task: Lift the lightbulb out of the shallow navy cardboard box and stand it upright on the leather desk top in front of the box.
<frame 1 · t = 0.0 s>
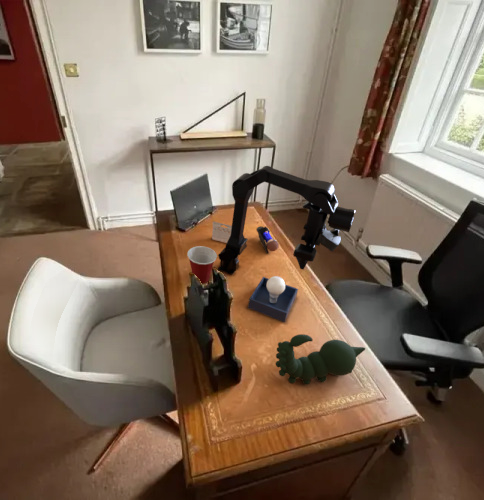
hand: (305, 261, 108), 15 cm above the table, tool pointing down, fingers open, 9 cm apart
lightbulb: (272, 302, 112), resting on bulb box
plastic cup: (201, 279, 121), on the table
ink cartridge box: (224, 241, 142), on the table
character figurine: (265, 246, 140), on the table
toy figurine: (314, 373, 90), on the table
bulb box: (272, 302, 112), on the table
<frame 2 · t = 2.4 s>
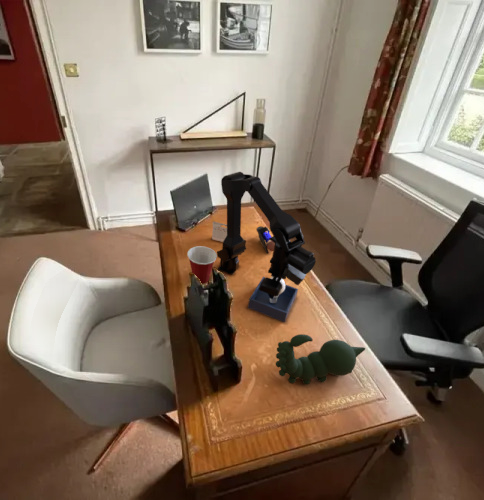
hand: (274, 292, 109), 5 cm above the table, tool pointing down, fingers closed on lightbulb, 6 cm apart
lightbulb: (272, 302, 112), resting on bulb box, touching gripper
everything else where it was.
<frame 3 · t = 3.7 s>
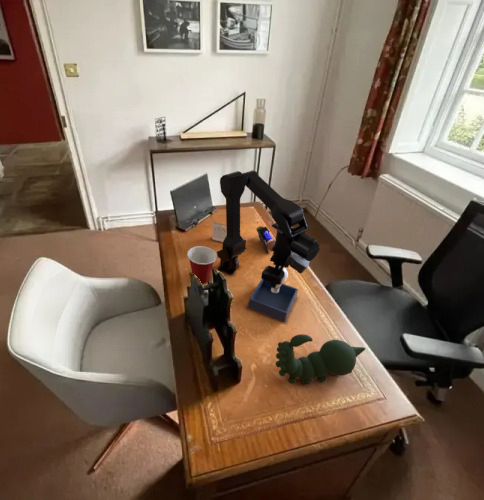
hand: (276, 281, 106), 10 cm above the table, tool pointing down, fingers closed on lightbulb, 6 cm apart
lightbulb: (274, 292, 109), point 5 cm above the table, touching gripper
everything else where it was.
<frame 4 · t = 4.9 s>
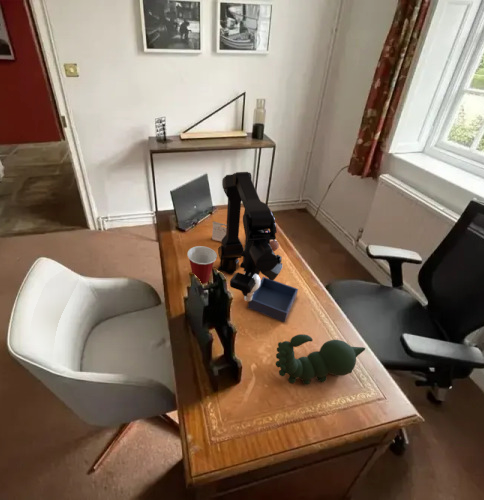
hand: (249, 289, 99), 13 cm above the table, tool pointing down, fingers closed on lightbulb, 6 cm apart
lightbulb: (247, 300, 102), point 8 cm above the table, touching gripper
everything else where it was.
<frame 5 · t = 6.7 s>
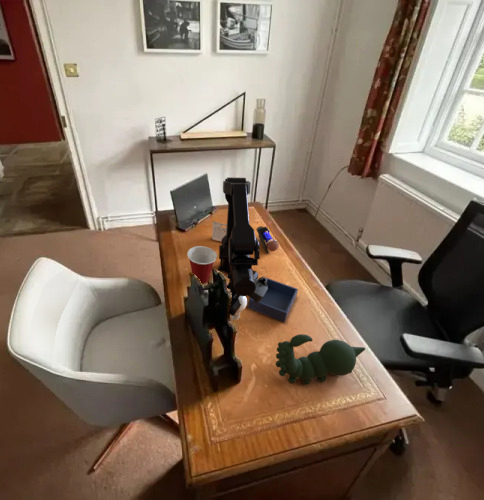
hand: (236, 308, 101), 6 cm above the table, tool pointing down, fingers closed on lightbulb, 6 cm apart
lightbulb: (235, 318, 104), point 1 cm above the table, touching gripper
everything else where it was.
when the fingers open (5 cm above the table, at t = 7.6 s): lightbulb stays where it is, on the table.
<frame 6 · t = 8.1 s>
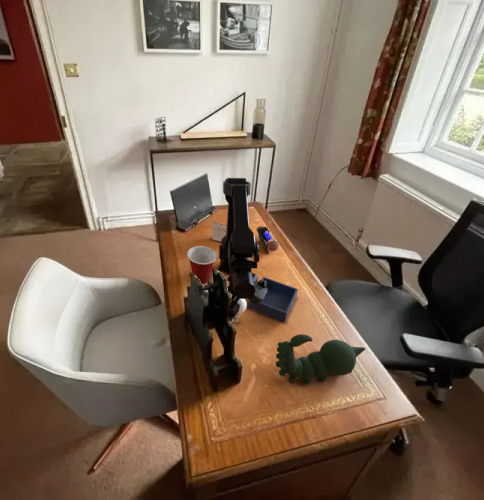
hand: (235, 311, 102), 5 cm above the table, tool pointing down, fingers open, 9 cm apart
lightbulb: (234, 321, 105), on the table
everything else where it was.
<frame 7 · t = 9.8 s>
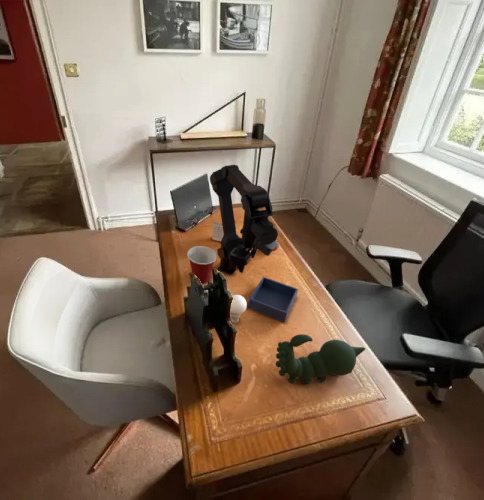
hand: (246, 264, 109), 12 cm above the table, tool pointing down, fingers open, 9 cm apart
nothing on the table moved.
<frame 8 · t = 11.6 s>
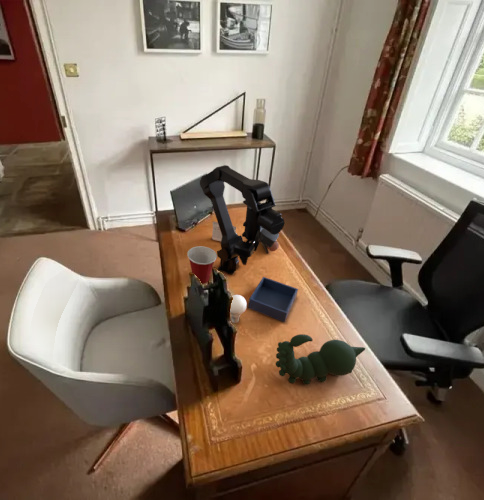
hand: (249, 257, 112), 13 cm above the table, tool pointing down, fingers open, 9 cm apart
nothing on the table moved.
at the end: lightbulb inside the target area (0.3 cm from its centre), on the table; lightbulb tilted 0°; the gripper is holding nothing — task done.
